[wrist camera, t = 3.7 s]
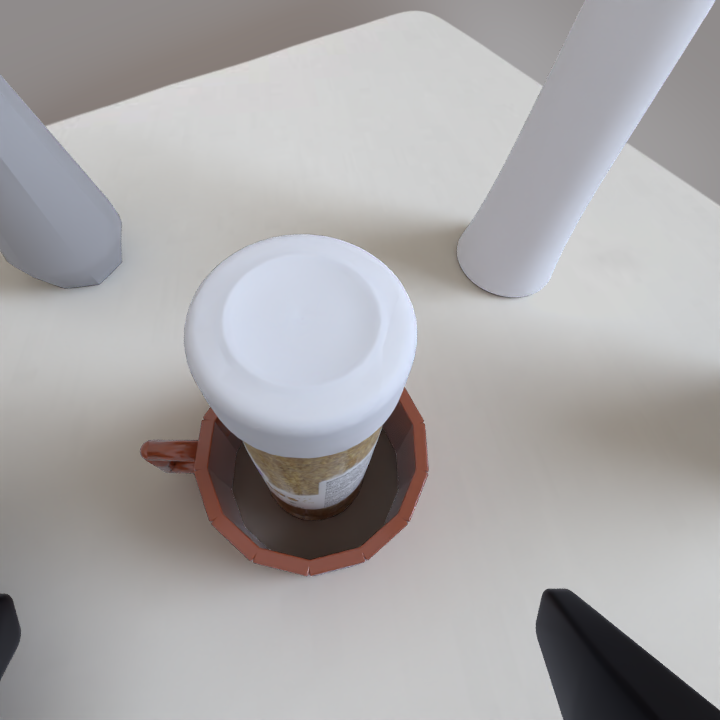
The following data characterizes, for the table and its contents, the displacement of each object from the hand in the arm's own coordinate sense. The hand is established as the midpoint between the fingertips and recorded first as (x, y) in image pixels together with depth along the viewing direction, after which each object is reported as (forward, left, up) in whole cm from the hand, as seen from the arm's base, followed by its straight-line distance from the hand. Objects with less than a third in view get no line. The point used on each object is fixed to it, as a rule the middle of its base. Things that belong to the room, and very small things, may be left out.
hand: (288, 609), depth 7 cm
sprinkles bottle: (+3, +4, -12) cm, 13 cm away
